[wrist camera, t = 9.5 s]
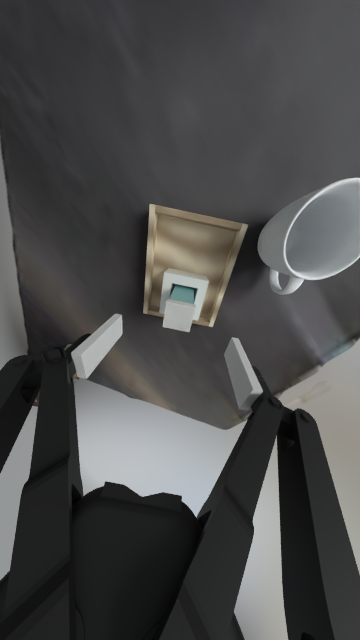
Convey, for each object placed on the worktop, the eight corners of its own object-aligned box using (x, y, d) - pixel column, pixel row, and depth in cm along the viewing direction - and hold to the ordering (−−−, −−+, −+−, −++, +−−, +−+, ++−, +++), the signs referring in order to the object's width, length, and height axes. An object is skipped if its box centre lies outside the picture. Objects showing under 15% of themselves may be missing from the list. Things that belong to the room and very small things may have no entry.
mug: (288, 285, 33) (339, 306, 21) (240, 285, 34) (265, 305, 22) (315, 205, 26) (414, 172, 14) (254, 208, 27) (300, 179, 15)
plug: (175, 282, 31) (166, 301, 20) (194, 286, 31) (195, 307, 20) (172, 301, 33) (162, 326, 22) (190, 304, 33) (189, 332, 22)
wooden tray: (155, 209, 28) (149, 203, 24) (241, 227, 28) (248, 224, 25) (147, 307, 38) (143, 313, 35) (210, 319, 39) (212, 327, 35)
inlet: (168, 268, 32) (164, 272, 27) (206, 275, 32) (209, 281, 27) (164, 303, 36) (159, 312, 31) (197, 310, 37) (198, 320, 31)
